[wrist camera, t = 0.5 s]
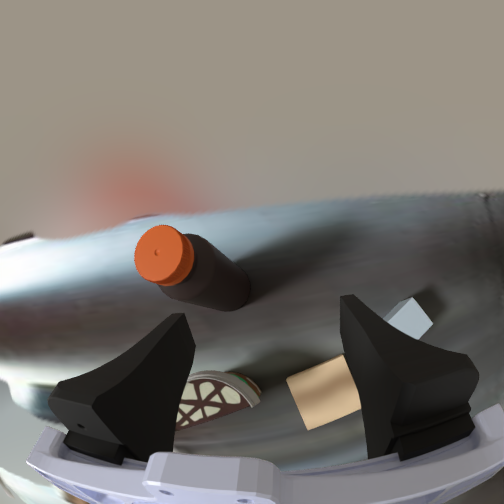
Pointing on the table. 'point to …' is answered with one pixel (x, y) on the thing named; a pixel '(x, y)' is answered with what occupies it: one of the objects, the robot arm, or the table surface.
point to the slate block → (409, 318)
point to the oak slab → (324, 392)
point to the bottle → (190, 269)
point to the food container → (215, 397)
